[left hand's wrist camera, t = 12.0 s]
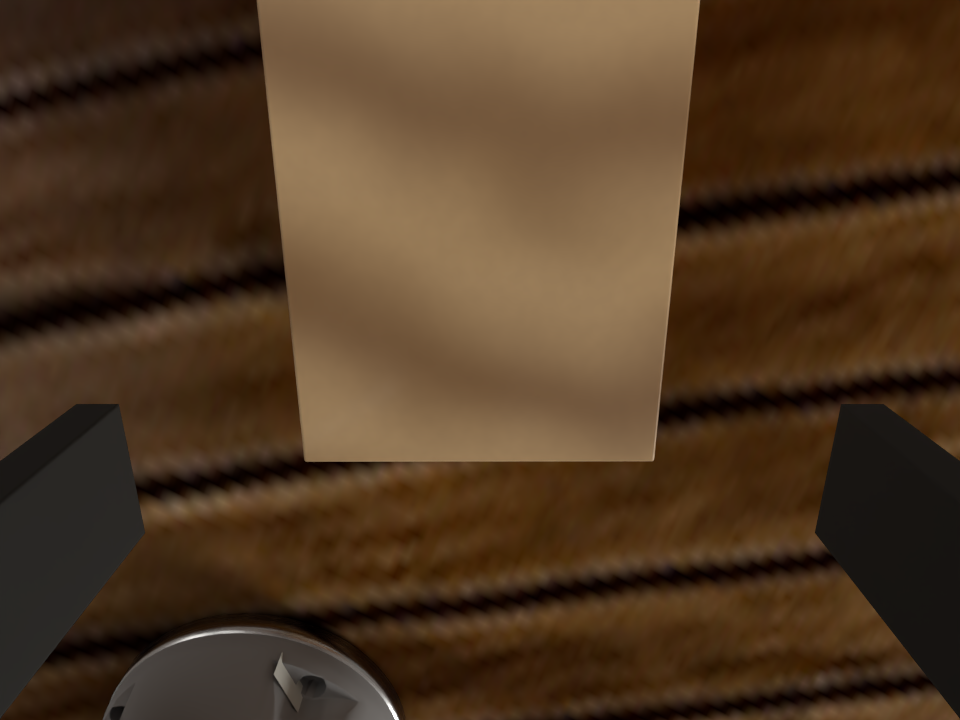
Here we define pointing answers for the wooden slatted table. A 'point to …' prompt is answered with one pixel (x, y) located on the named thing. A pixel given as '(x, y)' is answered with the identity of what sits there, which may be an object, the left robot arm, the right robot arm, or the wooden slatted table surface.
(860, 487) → the left robot arm
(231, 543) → the wooden slatted table surface
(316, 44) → the cabinet
